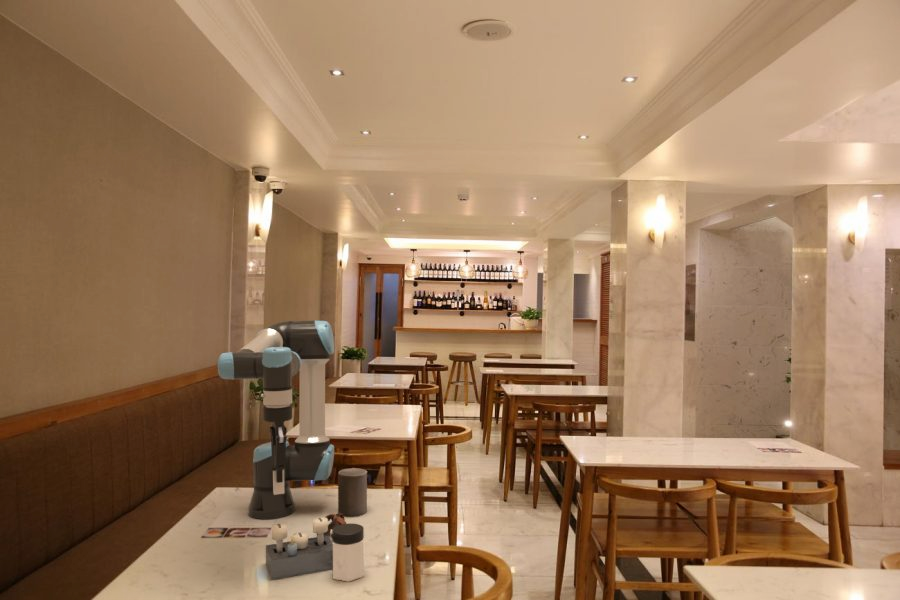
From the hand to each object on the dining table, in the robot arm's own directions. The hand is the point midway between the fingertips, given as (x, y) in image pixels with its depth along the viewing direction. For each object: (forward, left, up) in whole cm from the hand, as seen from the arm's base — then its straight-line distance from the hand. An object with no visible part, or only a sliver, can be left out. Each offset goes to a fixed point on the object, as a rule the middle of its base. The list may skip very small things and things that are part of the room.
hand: (278, 493), depth 168 cm
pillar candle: (-35, +29, -21) cm, 50 cm away
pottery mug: (-16, +19, -21) cm, 32 cm away
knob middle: (0, +6, -20) cm, 21 cm away
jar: (+11, +16, -21) cm, 28 cm away
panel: (0, +6, -20) cm, 21 cm away
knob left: (0, 0, -17) cm, 17 cm away
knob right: (0, +11, -17) cm, 20 cm away
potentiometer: (+4, +3, -15) cm, 16 cm away
